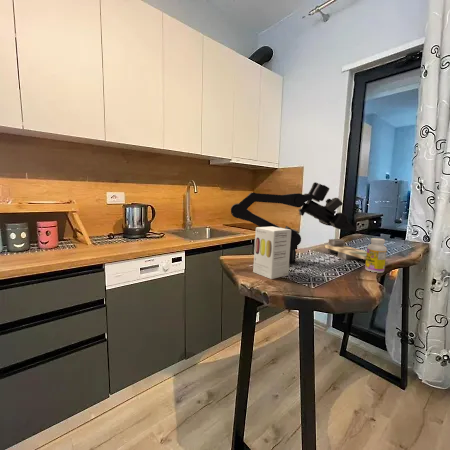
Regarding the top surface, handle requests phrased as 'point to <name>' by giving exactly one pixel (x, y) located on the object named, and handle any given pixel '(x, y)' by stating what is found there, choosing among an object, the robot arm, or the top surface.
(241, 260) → the top surface
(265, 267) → the supplement box
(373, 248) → the supplement bottle
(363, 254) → the balance beam
